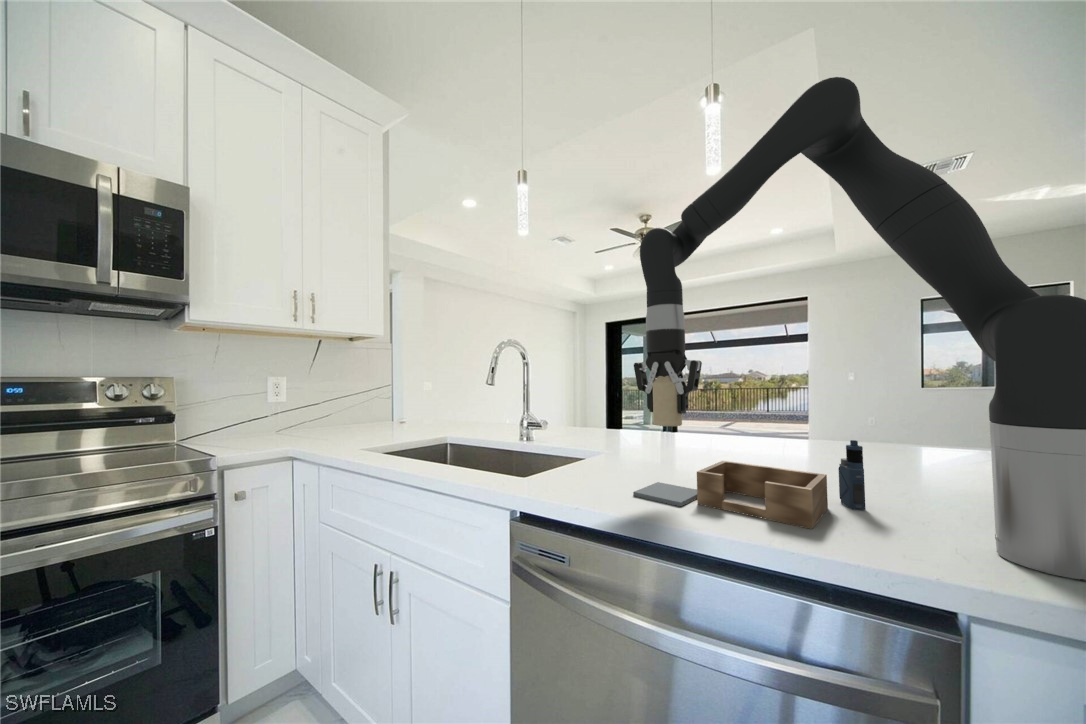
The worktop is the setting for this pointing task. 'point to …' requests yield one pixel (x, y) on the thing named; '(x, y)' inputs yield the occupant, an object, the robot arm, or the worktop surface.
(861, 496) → the vaping device
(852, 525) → the worktop surface
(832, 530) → the worktop surface
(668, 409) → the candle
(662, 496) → the mat
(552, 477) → the worktop surface
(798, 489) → the box
